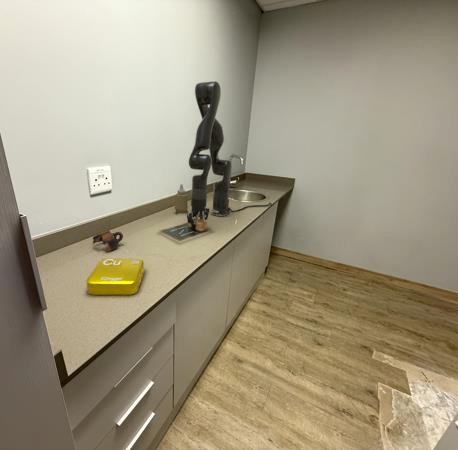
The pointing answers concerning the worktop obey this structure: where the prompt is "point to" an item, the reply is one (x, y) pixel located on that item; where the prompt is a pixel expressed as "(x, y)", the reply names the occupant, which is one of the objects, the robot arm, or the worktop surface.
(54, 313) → the worktop surface
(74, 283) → the worktop surface
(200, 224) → the eraser
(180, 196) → the squeeze bottle
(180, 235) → the chalkboard
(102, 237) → the brown teapot
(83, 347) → the worktop surface
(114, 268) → the element tile
